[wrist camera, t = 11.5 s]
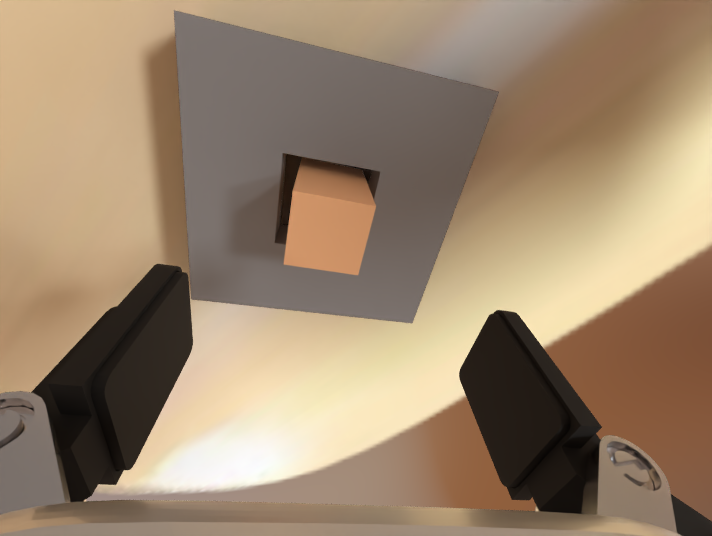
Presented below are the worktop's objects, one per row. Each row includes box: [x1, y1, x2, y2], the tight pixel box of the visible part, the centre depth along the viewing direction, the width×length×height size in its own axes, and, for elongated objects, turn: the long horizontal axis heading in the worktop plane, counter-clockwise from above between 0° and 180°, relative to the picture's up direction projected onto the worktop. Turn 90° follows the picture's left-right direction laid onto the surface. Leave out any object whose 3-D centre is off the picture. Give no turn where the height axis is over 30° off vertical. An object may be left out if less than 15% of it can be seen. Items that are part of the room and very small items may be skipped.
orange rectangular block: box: [284, 157, 376, 275], centre depth 19 cm, size 4×4×7 cm
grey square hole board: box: [174, 10, 499, 323], centre depth 21 cm, size 16×16×3 cm
